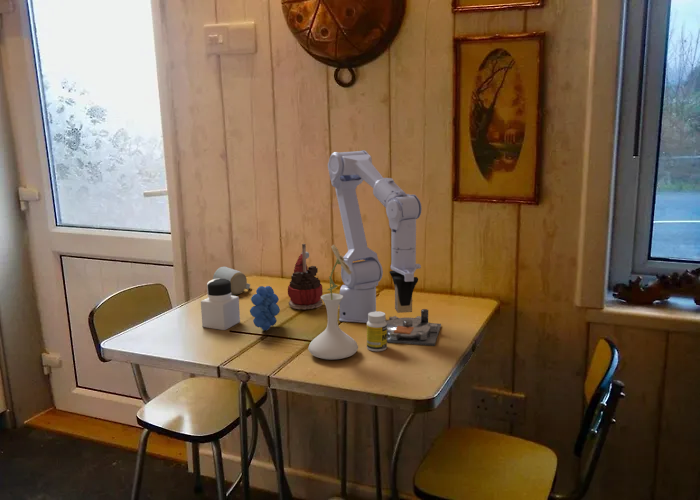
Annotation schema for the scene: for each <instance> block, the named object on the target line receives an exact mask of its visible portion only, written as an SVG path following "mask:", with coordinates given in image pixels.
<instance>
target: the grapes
mask: <svg viewBox="0 0 700 500" xmlns="http://www.w3.org/2000/svg"><path fill="white" fill-rule="evenodd" d="M255 292H256V293H255V294H253V295H252V296H251V298H250V301H251V303H252V304H253V306H252V307H251V308H250V310H249V312H250V316H252V317H253V324H254V326H255V327H256V328H261V330H262V331H265V330H266V331H268V330H270V328H271V327H273V326H275V325H276V323H277V322H278V320H277V318H276V316H278V315H279V314H280V312H281V308H280V306H279V305H278V302H279V296H278V295H277V294H276V293H275V291H274V288H272V286H269V285H267V286H263V285H261V286H259V287H258V288H256V291H255Z"/></svg>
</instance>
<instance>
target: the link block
mask: <svg viewBox="0 0 700 500" xmlns="http://www.w3.org/2000/svg"><path fill="white" fill-rule="evenodd" d="M394 310H395V311H396V313H397V314H399V313H403V314H404V313H413V297H412V298H411V302H410V305H409V306H401V305H400V301H399V294H398V289H397V285H396V284H395V286H394Z"/></svg>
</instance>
